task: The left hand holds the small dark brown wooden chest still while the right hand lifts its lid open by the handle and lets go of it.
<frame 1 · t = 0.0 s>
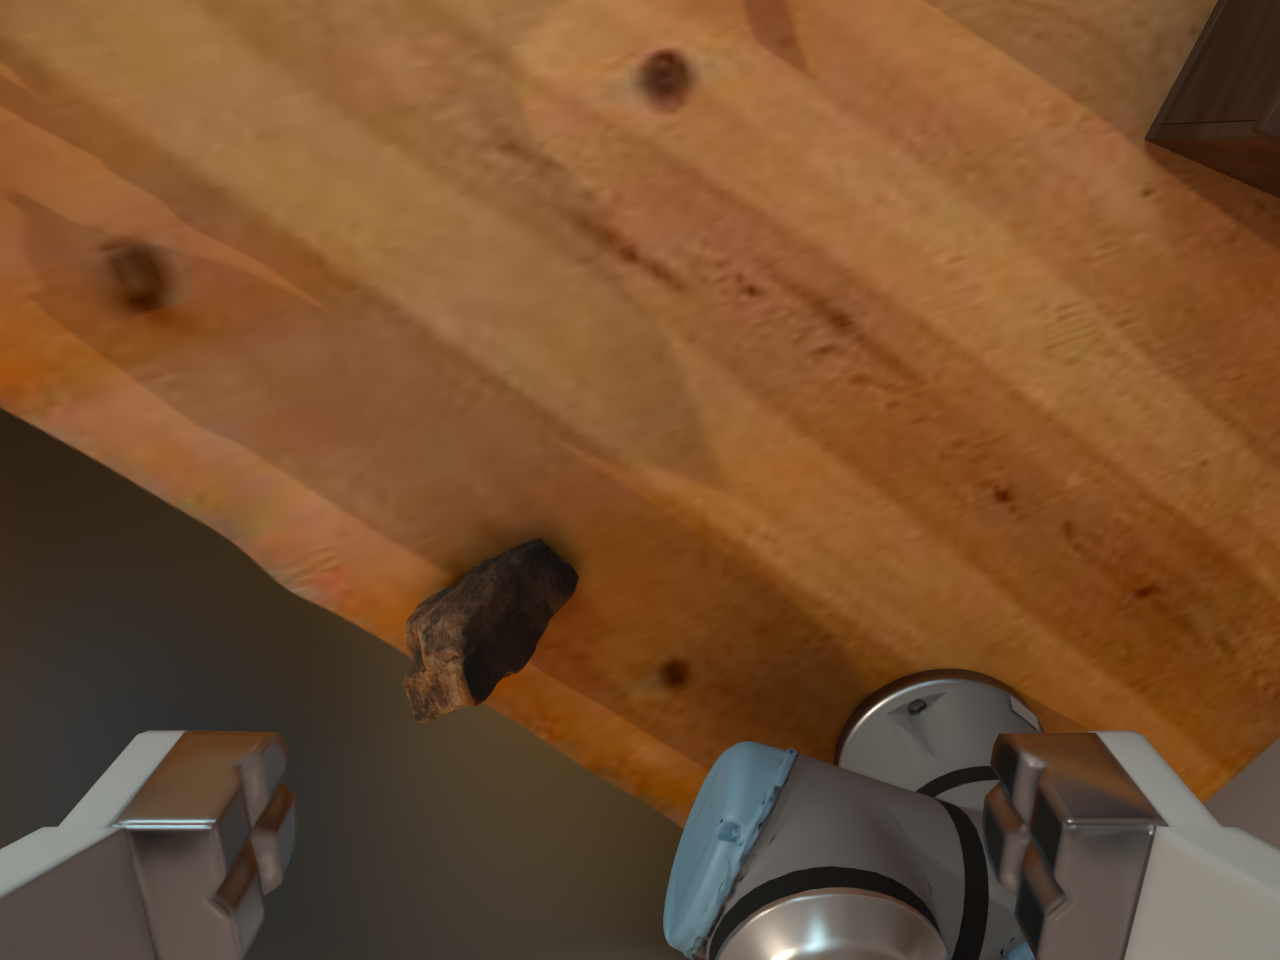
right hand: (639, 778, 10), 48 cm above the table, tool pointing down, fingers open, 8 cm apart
decorative rock: (496, 591, 63), on the table
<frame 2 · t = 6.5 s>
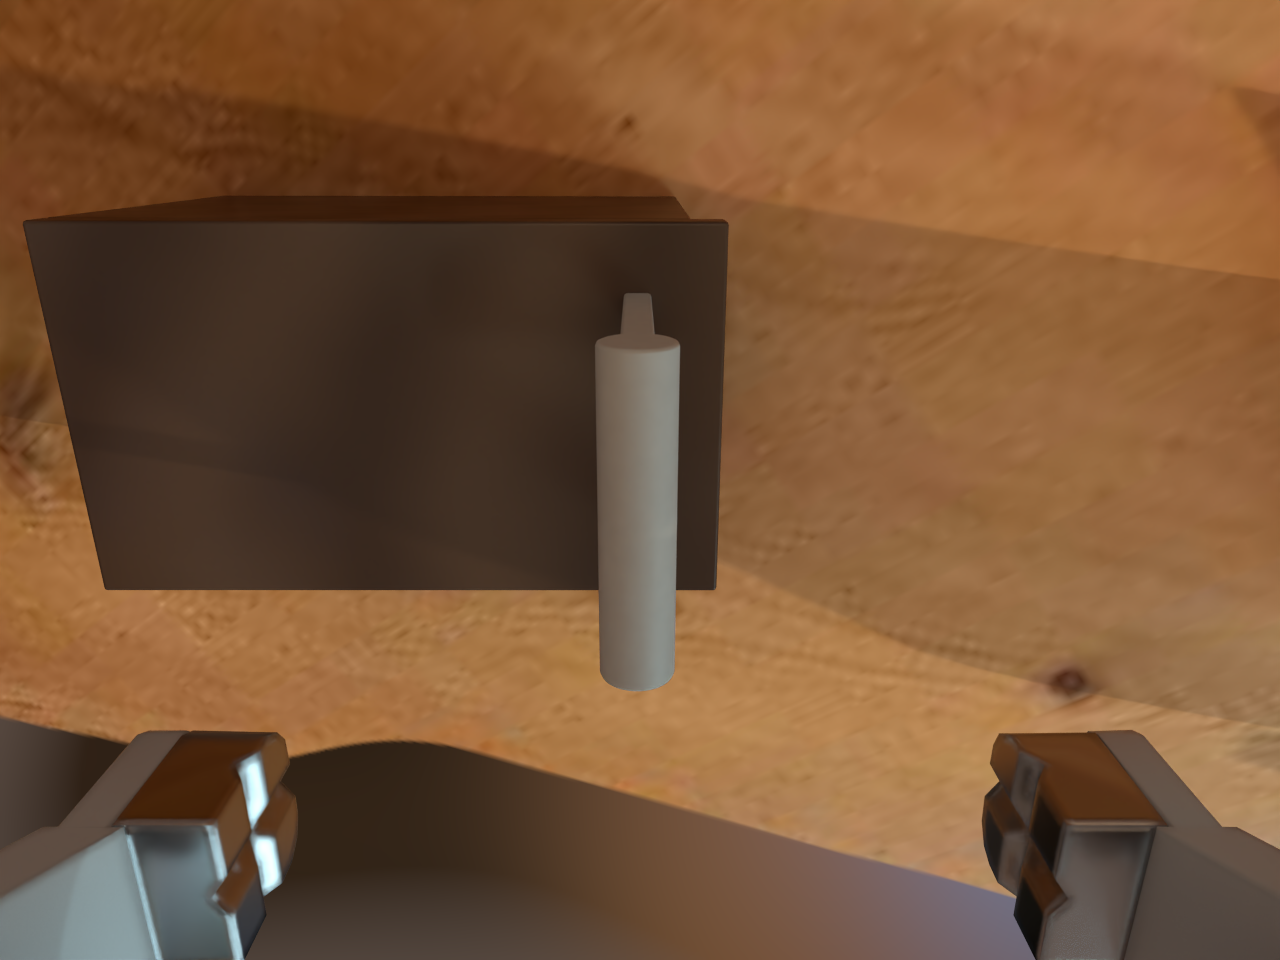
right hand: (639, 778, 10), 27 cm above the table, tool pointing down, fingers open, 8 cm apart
lid: (357, 460, 21), point 15 cm above the table, hinge at 0.0°
chest: (458, 334, 36), on the table
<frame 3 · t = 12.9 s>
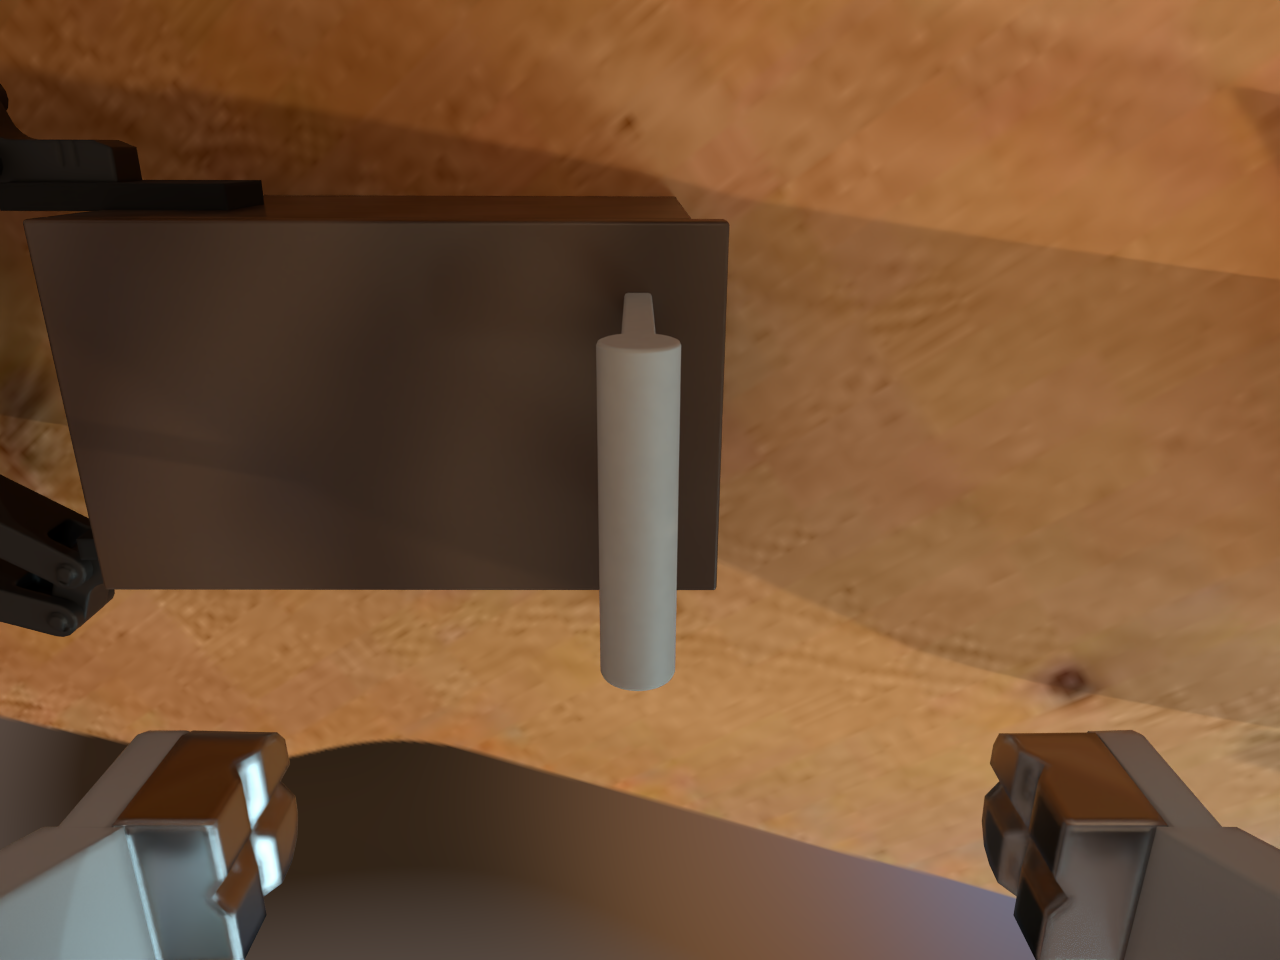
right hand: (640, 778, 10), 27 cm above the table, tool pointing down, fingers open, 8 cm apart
lid: (358, 460, 21), point 15 cm above the table, hinge at 0.0°
chest: (458, 333, 36), on the table, touching left hand
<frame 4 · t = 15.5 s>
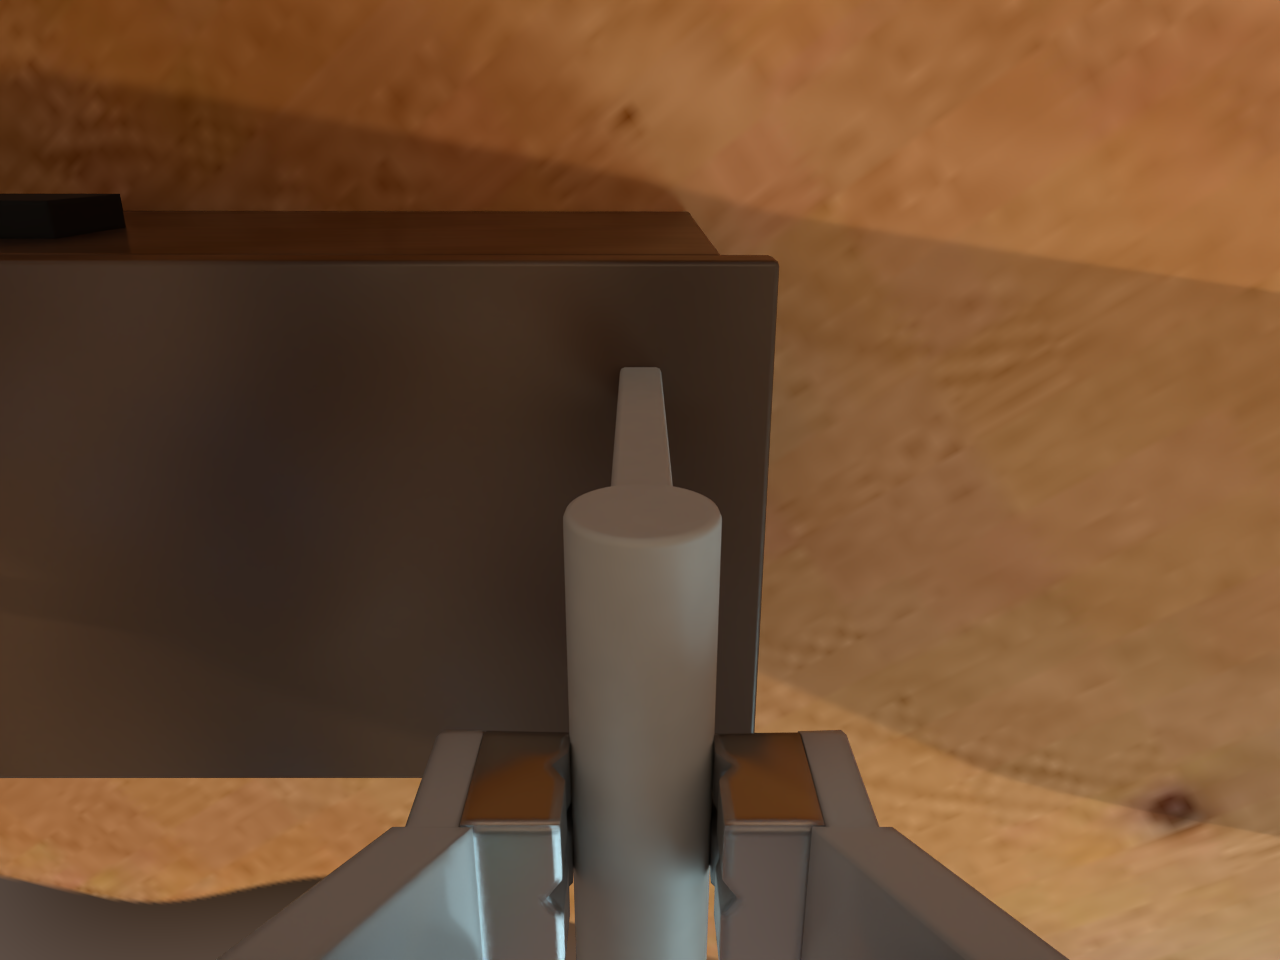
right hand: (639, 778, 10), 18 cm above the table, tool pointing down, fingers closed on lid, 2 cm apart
lid: (199, 642, 13), point 15 cm above the table, hinge at 0.0°, touching right hand
chest: (410, 387, 28), on the table, touching left hand
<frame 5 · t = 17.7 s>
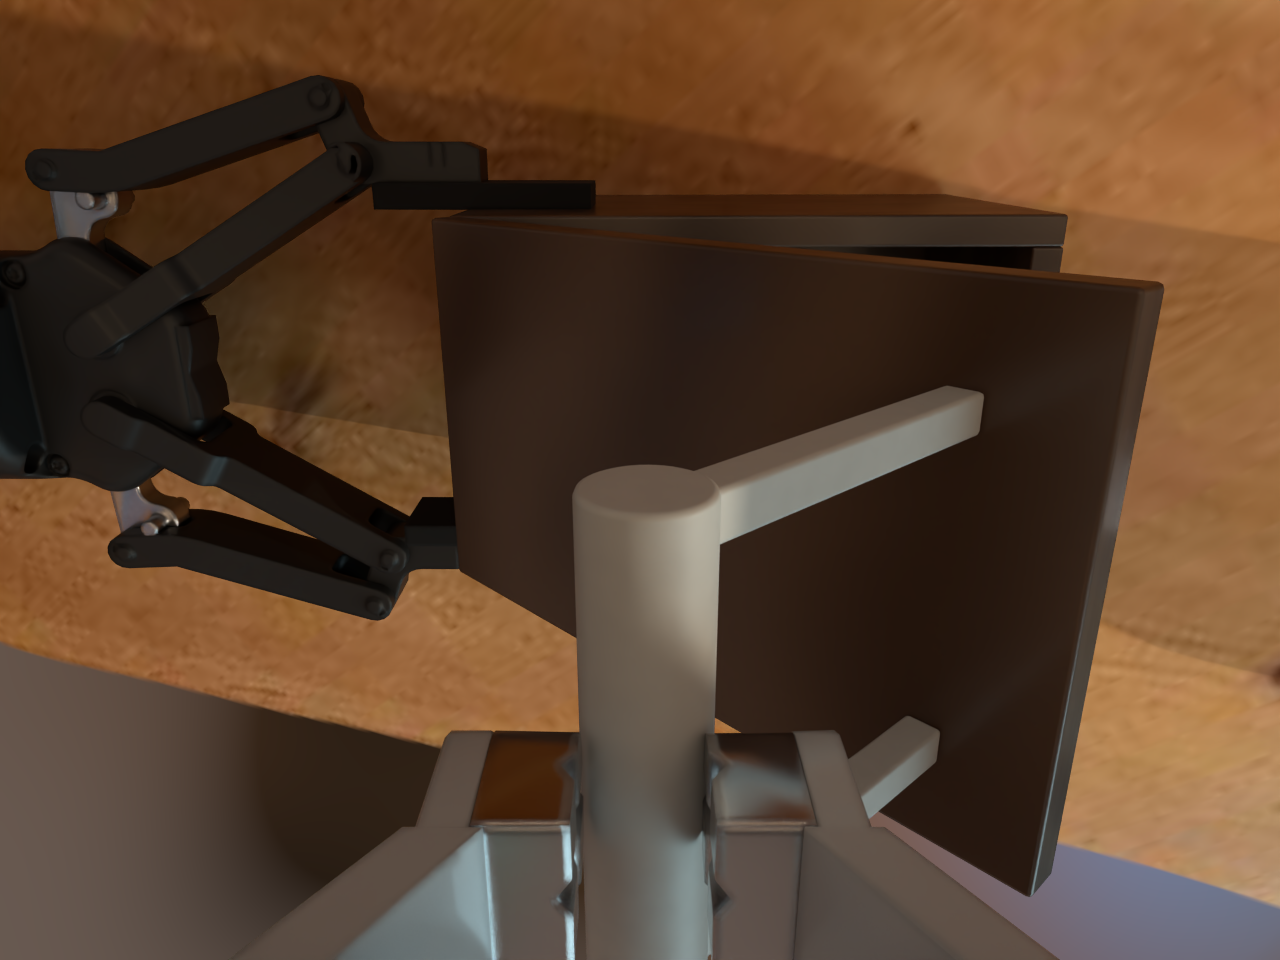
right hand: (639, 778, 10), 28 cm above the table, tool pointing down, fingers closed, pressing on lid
left hand: (596, 368, 30), fingers closed on chest, 10 cm apart
lid: (541, 528, 18), point 20 cm above the table, hinge at 46.0°, touching right hand
chest: (722, 328, 37), on the table, touching left hand
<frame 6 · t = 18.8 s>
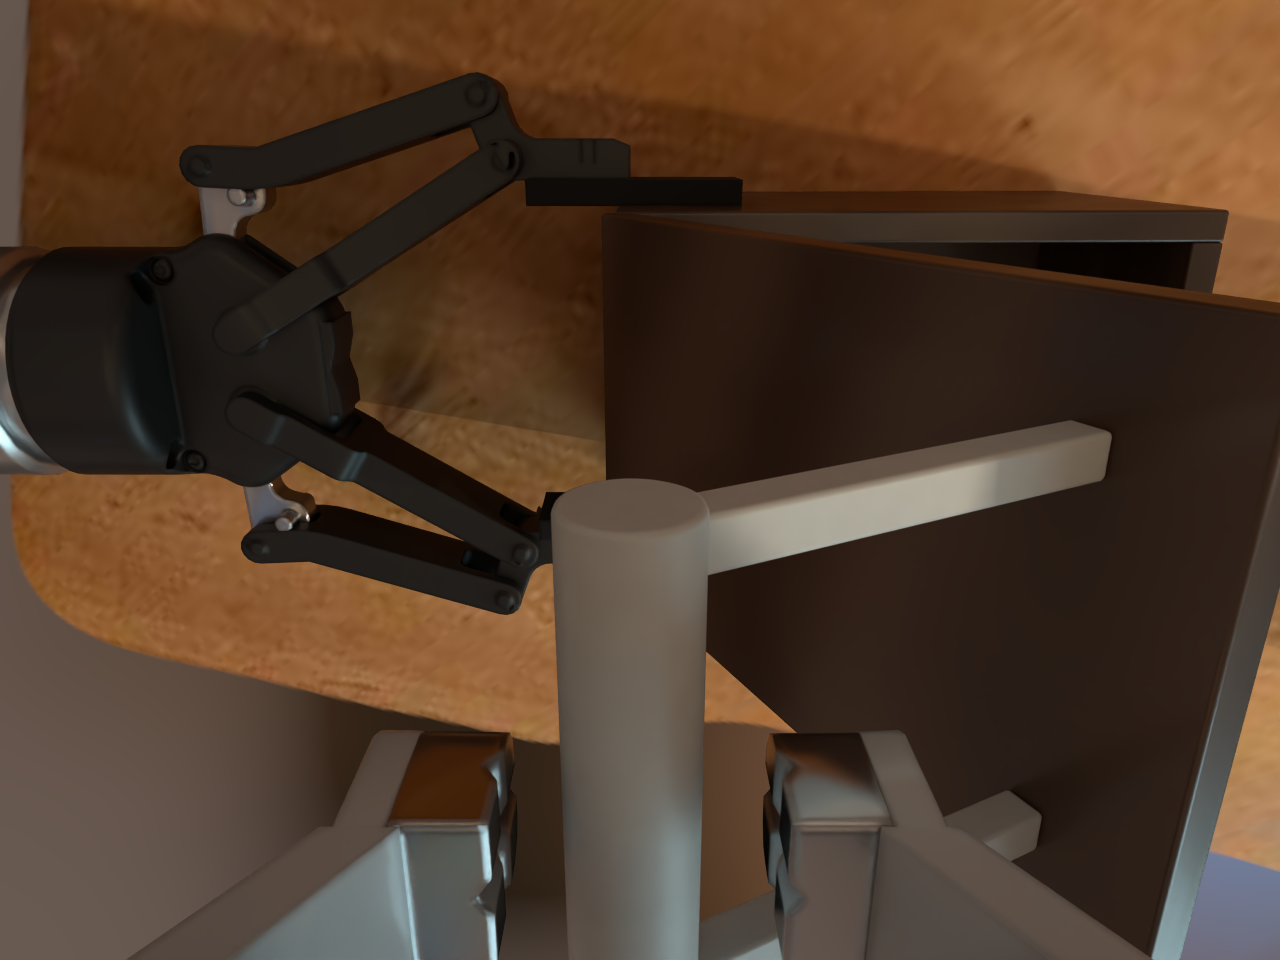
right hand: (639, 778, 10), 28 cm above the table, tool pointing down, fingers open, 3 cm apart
left hand: (731, 363, 30), fingers closed on chest, 10 cm apart
lid: (639, 532, 17), point 21 cm above the table, hinge at 62.5°
chest: (832, 324, 37), on the table, touching left hand
when the left hand's fingers open (7 cm above the table, at t = 22.8 s): chest stays where it is, on the table.
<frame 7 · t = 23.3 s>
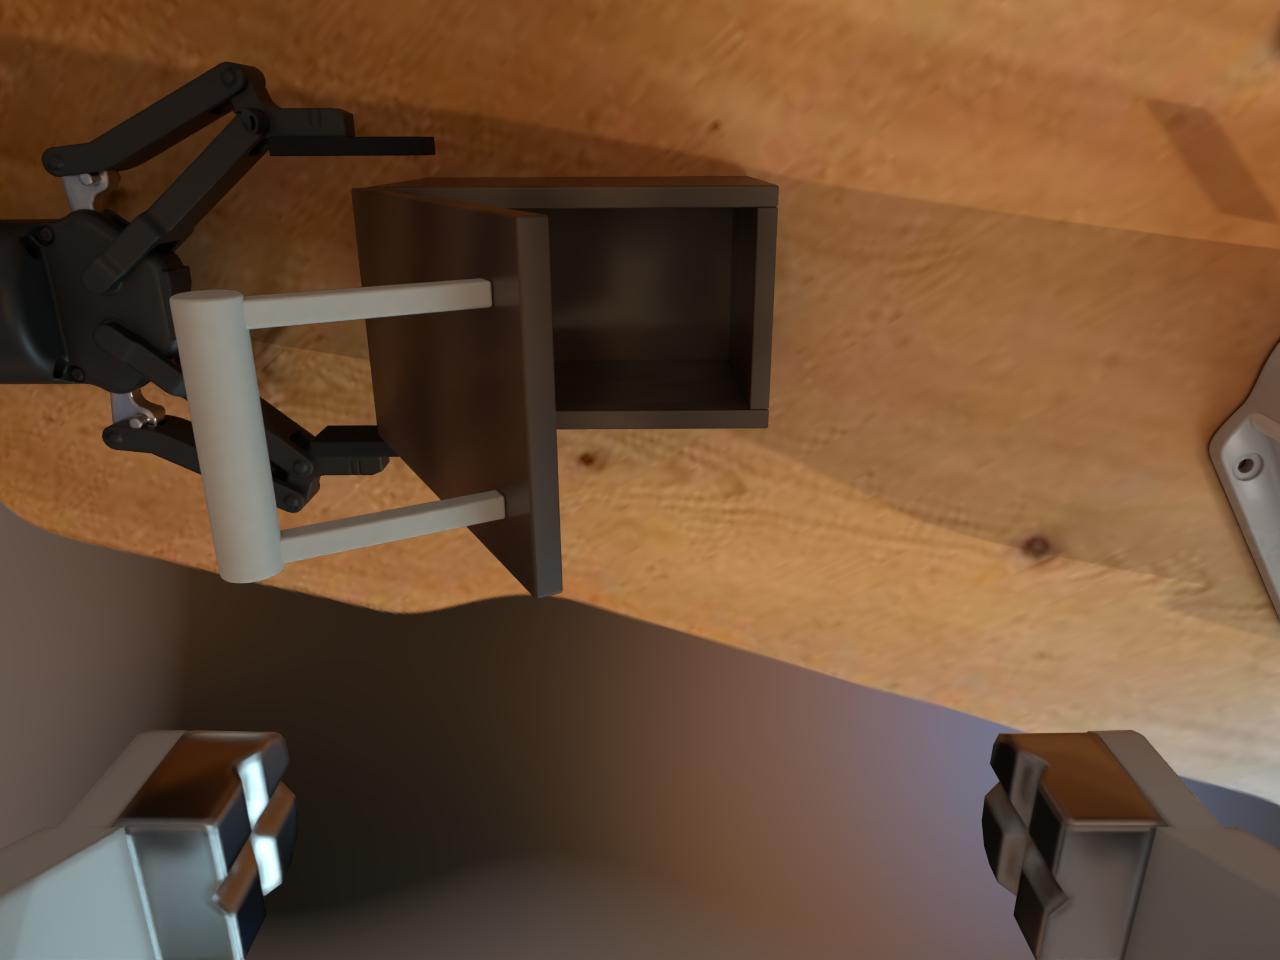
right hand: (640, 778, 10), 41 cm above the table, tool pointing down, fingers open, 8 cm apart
left hand: (441, 301, 42), fingers open, 13 cm apart
lid: (323, 369, 29), point 21 cm above the table, hinge at 61.0°
chest: (589, 278, 49), on the table
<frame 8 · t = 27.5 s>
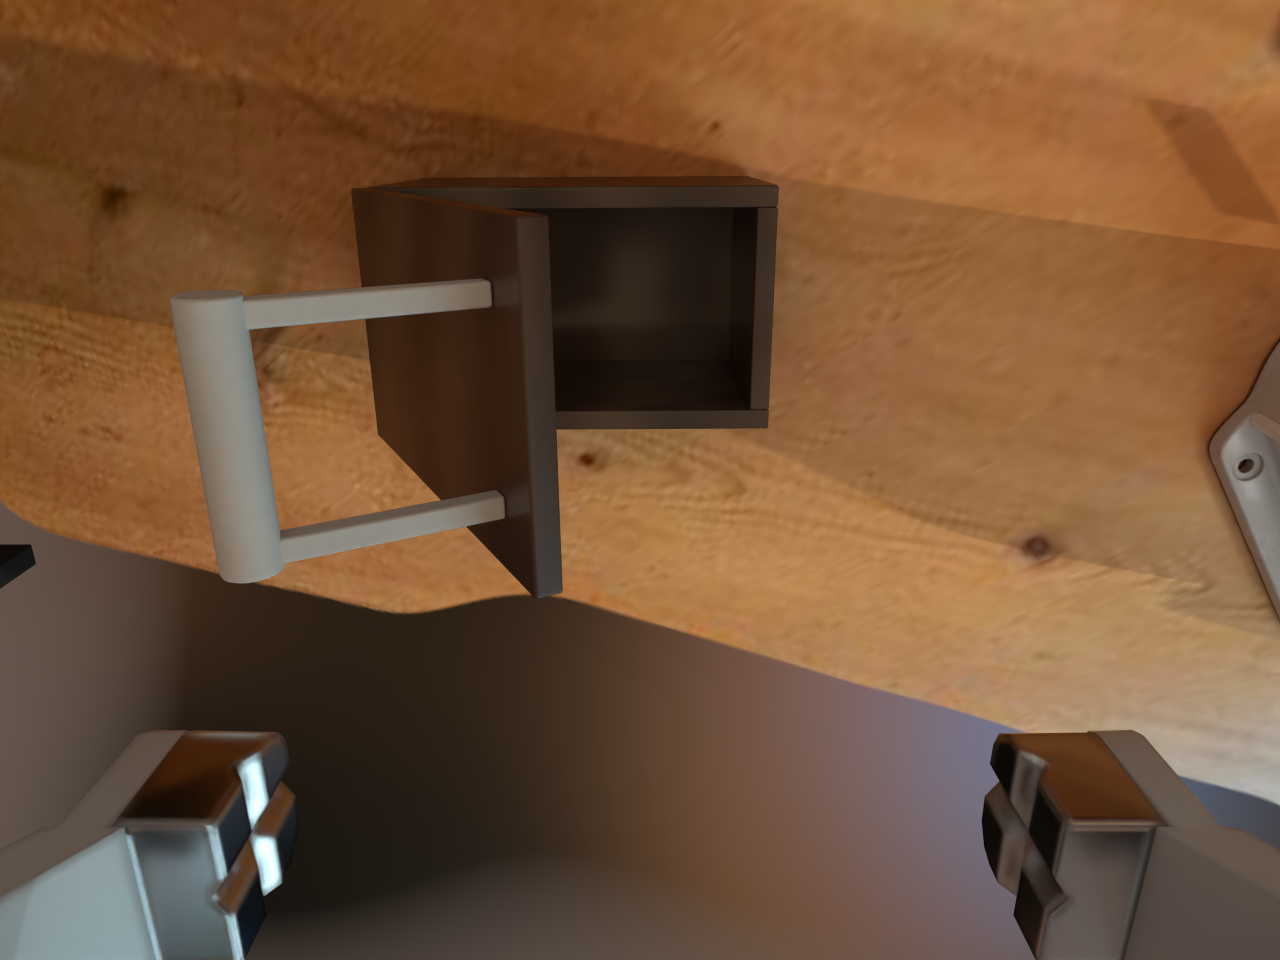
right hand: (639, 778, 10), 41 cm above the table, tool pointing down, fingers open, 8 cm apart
lid: (323, 369, 29), point 21 cm above the table, hinge at 61.0°
chest: (589, 278, 49), on the table
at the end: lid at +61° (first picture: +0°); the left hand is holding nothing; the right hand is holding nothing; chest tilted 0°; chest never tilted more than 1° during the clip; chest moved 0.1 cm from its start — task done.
